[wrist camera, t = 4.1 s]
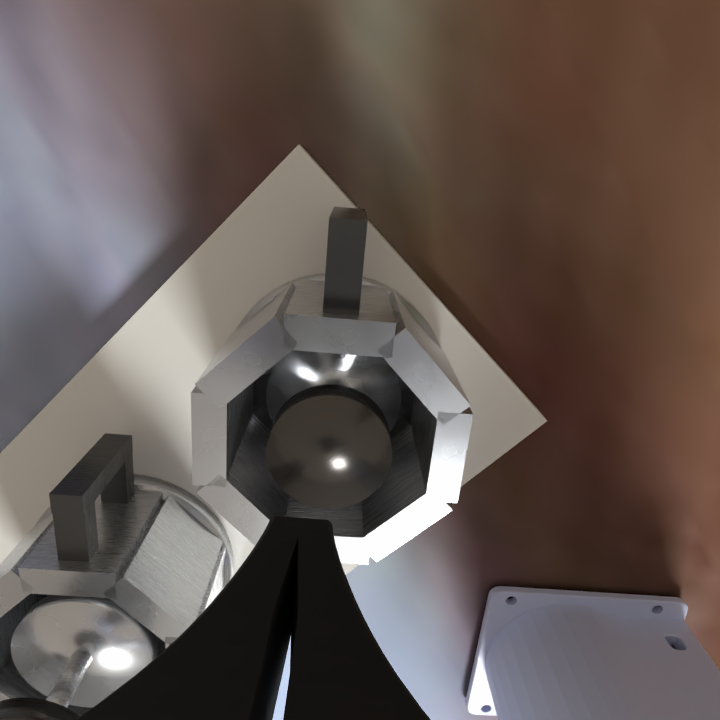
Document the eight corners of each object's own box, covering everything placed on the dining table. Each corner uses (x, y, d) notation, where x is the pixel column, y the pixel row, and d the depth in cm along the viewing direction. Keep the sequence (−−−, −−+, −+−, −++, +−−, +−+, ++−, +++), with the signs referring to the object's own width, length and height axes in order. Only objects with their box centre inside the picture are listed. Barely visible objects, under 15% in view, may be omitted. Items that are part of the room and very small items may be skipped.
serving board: (301, 145, 19) (298, 144, 18) (539, 410, 22) (547, 421, 22) (-53, 510, 24) (-70, 524, 23) (189, 680, 27) (183, 698, 26)
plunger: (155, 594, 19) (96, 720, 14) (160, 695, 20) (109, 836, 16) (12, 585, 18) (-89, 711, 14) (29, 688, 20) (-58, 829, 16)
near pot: (469, 216, 19) (512, 235, 14) (428, 482, 22) (450, 575, 17) (227, 194, 18) (179, 205, 13) (225, 467, 22) (187, 558, 17)
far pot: (235, 430, 21) (199, 512, 16) (232, 636, 25) (202, 755, 20) (20, 414, 21) (-86, 493, 16) (49, 625, 25) (-30, 744, 20)
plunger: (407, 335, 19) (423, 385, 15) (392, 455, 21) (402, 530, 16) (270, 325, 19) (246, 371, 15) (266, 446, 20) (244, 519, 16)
